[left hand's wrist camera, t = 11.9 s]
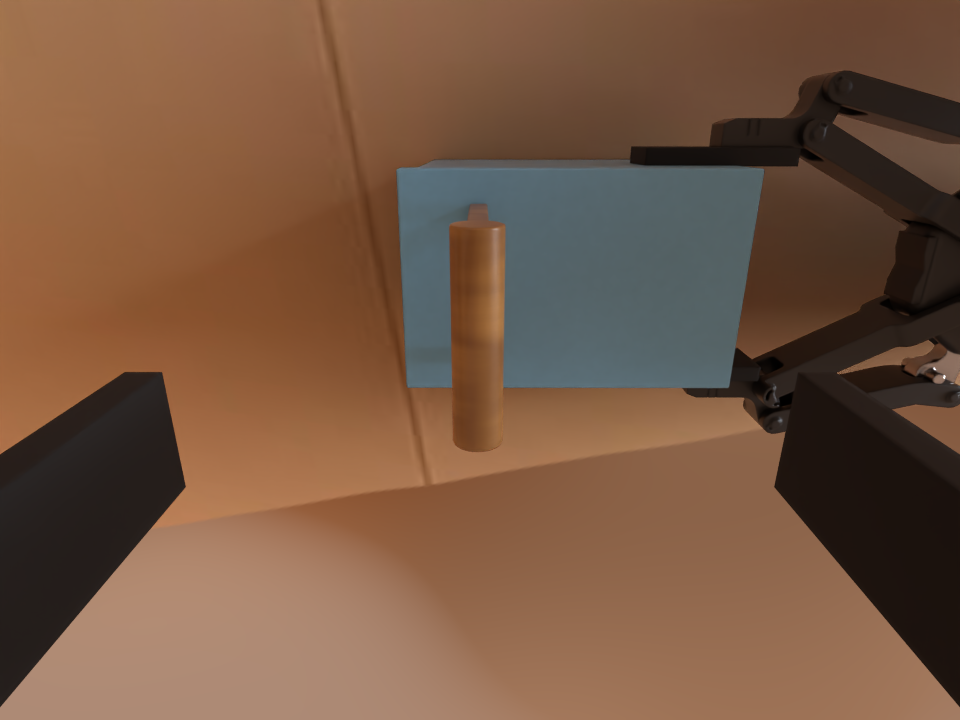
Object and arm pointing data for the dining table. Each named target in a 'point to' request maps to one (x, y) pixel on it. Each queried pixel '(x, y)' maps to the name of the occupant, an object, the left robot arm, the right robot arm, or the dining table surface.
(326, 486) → the dining table surface
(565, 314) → the lid
